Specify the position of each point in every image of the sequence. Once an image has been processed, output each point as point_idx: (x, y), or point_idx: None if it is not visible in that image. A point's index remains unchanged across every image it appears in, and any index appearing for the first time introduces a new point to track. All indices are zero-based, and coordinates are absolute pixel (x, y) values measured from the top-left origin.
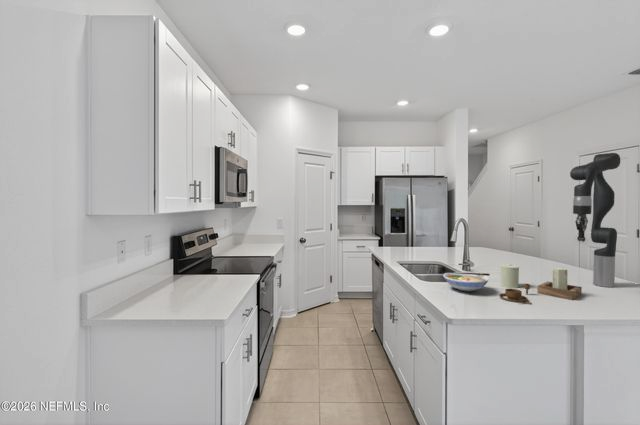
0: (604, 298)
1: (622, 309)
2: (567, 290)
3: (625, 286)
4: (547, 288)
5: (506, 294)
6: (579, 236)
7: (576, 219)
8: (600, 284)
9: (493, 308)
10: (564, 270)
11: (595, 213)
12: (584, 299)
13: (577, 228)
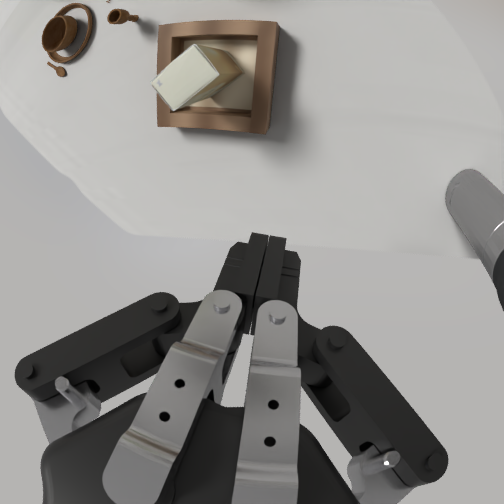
0: (269, 185)
1: (178, 219)
2: (164, 110)
3: None
4: (158, 54)
5: (51, 27)
6: (234, 248)
7: (113, 458)
8: (451, 187)
9: (9, 62)
10: (166, 101)
11: None
12: (207, 142)
13: (136, 308)
